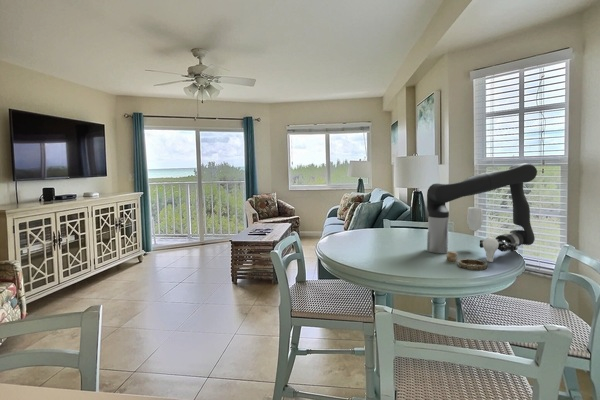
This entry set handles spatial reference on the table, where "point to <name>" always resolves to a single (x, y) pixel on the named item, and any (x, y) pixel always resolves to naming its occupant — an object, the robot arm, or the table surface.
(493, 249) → the lightbulb
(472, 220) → the cup
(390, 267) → the table surface
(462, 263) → the holder ring
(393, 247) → the table surface
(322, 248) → the table surface
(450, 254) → the oak stub
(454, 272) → the table surface
